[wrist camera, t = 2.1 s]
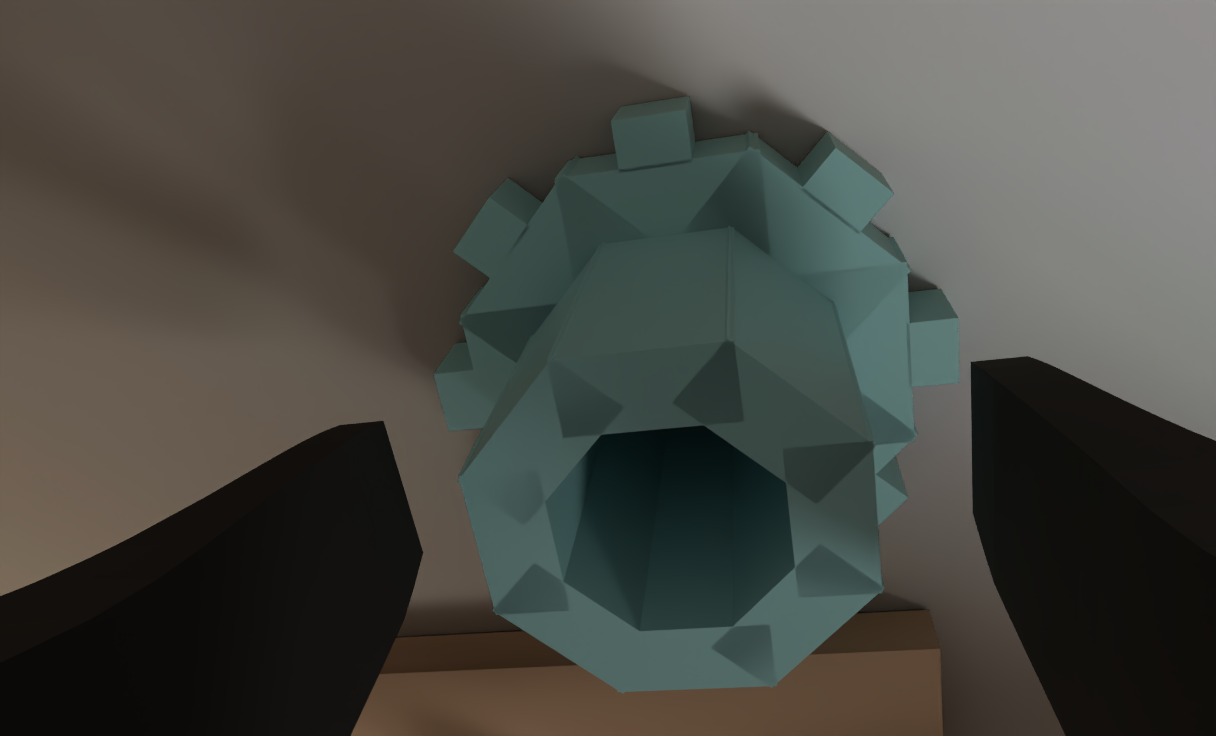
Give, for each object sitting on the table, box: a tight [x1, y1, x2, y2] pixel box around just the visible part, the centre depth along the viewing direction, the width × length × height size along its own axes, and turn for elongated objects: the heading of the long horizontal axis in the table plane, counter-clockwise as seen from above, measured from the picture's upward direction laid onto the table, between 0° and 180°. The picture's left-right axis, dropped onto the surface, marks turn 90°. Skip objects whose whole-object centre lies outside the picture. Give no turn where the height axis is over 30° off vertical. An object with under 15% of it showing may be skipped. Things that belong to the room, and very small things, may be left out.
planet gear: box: [434, 96, 960, 693], centre depth 12 cm, size 8×8×5 cm
